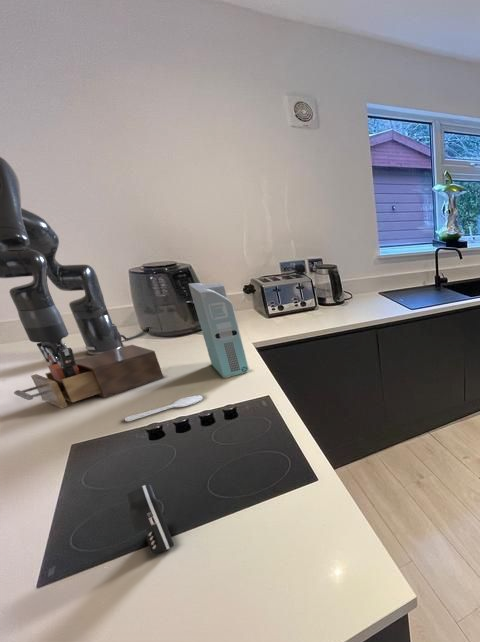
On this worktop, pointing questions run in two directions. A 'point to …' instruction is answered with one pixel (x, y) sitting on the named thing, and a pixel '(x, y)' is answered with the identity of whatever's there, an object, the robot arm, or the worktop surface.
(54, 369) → the block
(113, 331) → the robot arm
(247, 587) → the worktop surface
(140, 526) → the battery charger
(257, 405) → the worktop surface
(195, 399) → the spoon
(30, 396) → the drawer
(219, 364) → the device
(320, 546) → the worktop surface
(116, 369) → the cabinet
